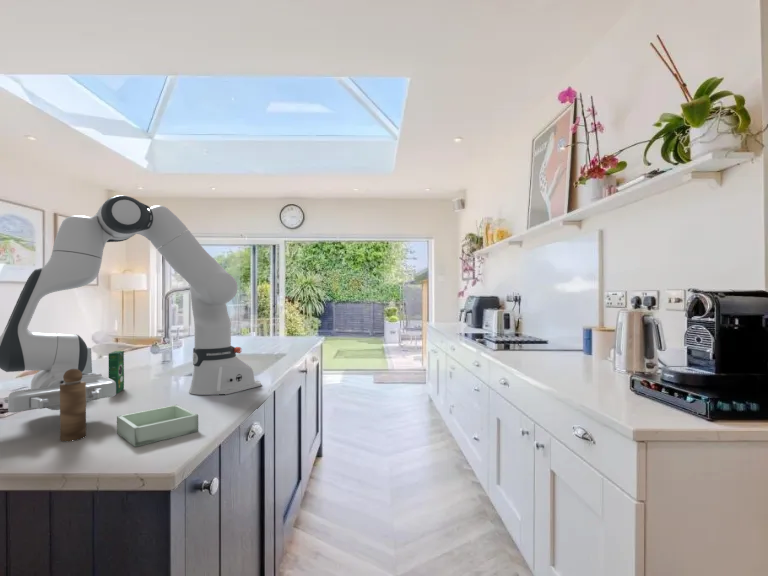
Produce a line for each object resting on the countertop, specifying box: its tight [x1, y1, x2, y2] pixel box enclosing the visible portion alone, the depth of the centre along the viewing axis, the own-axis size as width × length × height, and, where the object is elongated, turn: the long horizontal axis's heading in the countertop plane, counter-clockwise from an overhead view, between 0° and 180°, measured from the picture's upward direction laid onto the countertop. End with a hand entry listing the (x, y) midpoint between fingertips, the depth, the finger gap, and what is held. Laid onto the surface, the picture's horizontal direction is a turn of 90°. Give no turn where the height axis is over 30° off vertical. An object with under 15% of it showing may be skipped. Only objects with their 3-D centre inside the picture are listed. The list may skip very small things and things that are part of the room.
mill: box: [59, 369, 87, 442], centre depth 92 cm, size 5×5×15 cm
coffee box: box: [108, 350, 125, 395], centre depth 135 cm, size 8×3×13 cm, turn 20°
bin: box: [116, 404, 199, 448], centre depth 95 cm, size 13×13×4 cm
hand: (71, 400), depth 93 cm, fingers open, 8 cm apart
